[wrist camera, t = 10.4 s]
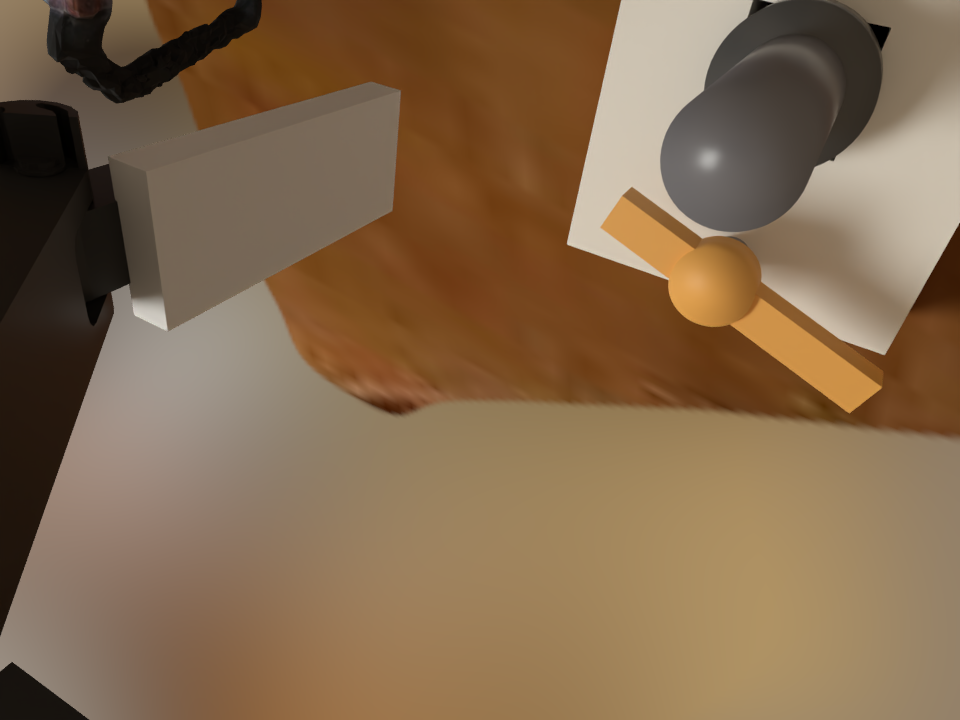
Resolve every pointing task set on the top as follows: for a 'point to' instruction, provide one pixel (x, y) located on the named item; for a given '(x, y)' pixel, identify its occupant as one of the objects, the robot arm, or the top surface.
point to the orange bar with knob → (740, 299)
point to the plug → (771, 113)
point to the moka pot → (78, 47)
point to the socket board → (832, 186)
